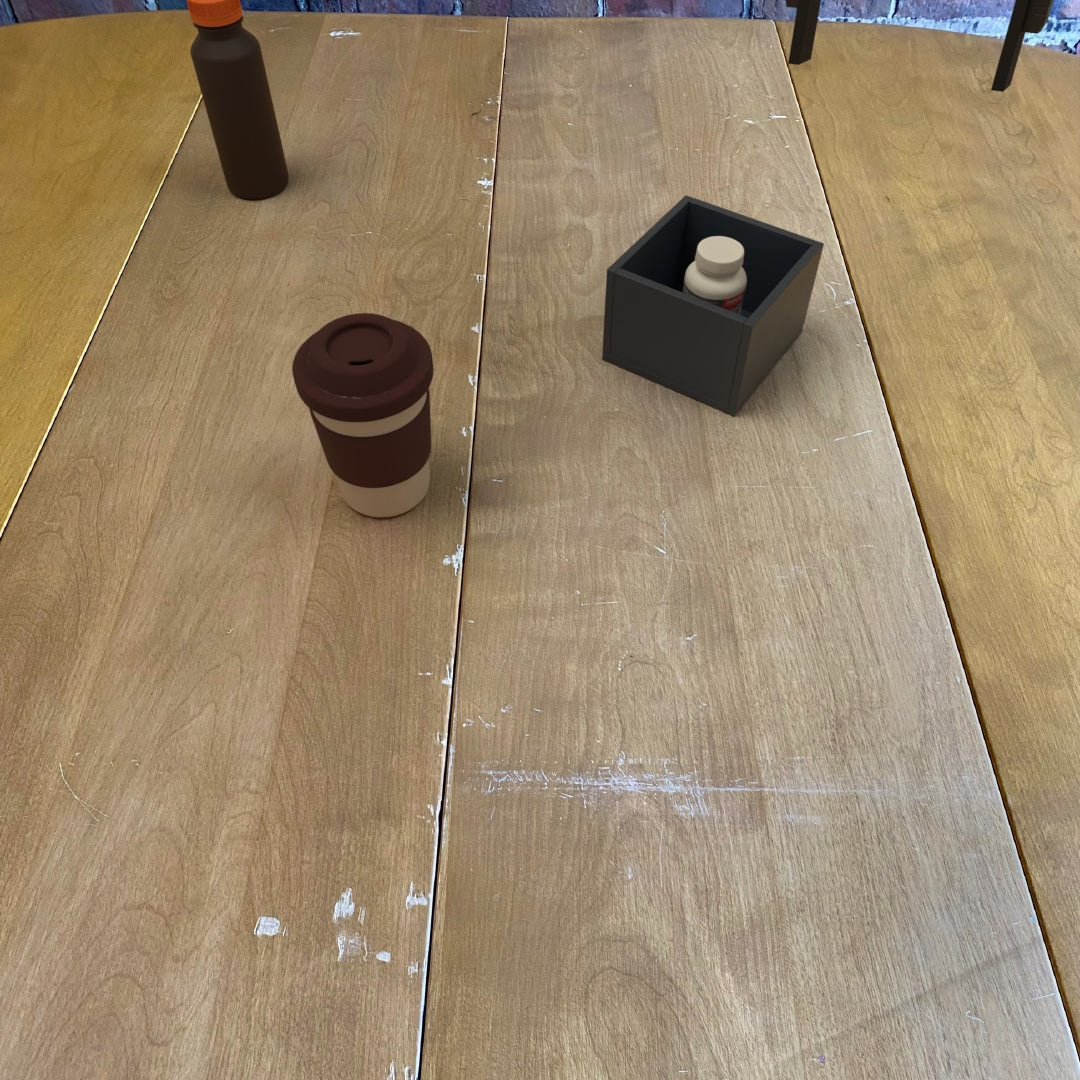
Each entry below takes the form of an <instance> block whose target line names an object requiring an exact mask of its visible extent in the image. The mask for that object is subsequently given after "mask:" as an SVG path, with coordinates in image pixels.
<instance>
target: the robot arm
mask: <svg viewBox="0 0 1080 1080" xmlns="http://www.w3.org/2000/svg"><path fill="white" fill-rule="evenodd" d="M784 1H785V7H786V8H792V9H793V8H794V9H796V13H795V18H794V25H793V31H792V37H791V43H790V49H789V56H788V62H787V64H788V65H794V66H800V65H802V64H804V63H806V62H809V61H811V59H812V55H813V50H814V45H815V44H814V43H815V37H816V31H817V27H818V22H819V21H818V20H819V15H820V9H821V2H822V0H784ZM1053 4H1054V0H1014V5H1013V9H1012V12H1011V15H1010V18H1009V23H1008V27H1007V30H1006V34H1005V38H1004V41H1003V45H1002V48H1001V51H1000V56H999V59H998V63H997V67H996V71H995V74H994V78H993V81H992V84H991V88H990V91H993V92H994V91H995V92H1001V93H1003V92H1005V91H1006V90H1007V89H1008V88H1009V87H1011V85H1012V81H1013V78H1014V74H1015V71H1016V67H1017V63H1018V61H1019V60H1018V59H1019V57H1020V53H1021V49H1022V46H1023V43H1024V40H1025V36H1026V34H1037V35H1038V34H1039V33H1041V32H1042V31H1043V29H1044V28H1045V26H1046V25H1047V24H1048V20H1049V18H1050V13H1051V11H1052V7H1053Z"/></svg>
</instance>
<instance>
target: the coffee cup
mask: <svg viewBox="0 0 1080 1080" xmlns="http://www.w3.org/2000/svg"><path fill="white" fill-rule="evenodd" d="M291 366H292V368H291V372H292V378H293V381H294V386H295V389H296V391H297V394H298V396H299V398H300V400H301V401H302V402H303V403H304V405H305V406H307V408H308V410H309V415H310V417H311V420H312V422H313V425H314V428H315V431H316V434H317V436H318V440H319V443H320V445H321V449H322V451H323V453H324V457H325V460H326V462H327V464H328V467H329V469H330V470H331V472H333V474H334V476H335V480H336V483H337V485H338V488H339V491H340V494H341V496H342V498H343V500H344V501H345V503H346V504H347V505H348V506H349V507H350V508H351V509H352V510H354V511H355V512H357V513H359V514H361V515H363V516H368V517H372V518H392V517H397V516H400V515H403V514H405V513H407V512H409V511H411V510H413V509H414V508H415V507H417V506H418V505H419V504H420V503H421V502H422V501H423V499H424V498H425V497H426V495H427V493H428V491H429V489H430V485H431V484H430V483H431V467H430V456H431V452H432V423H431V419H432V418H431V395H430V387H431V384H432V381H433V377H434V360H433V353H432V348H431V346H430V344H429V342H428V340H427V339H426V338H425V337H424V335H423V334H422V333H421V332H419V331H418V330H417V329H415V328H414V327H413V326H412V325H409V324H407V323H404V322H402V321H400V320H396V319H393V318H390V317H387V316H385V315H383V314H378V313H370V312H361V313H351V314H347V315H346V314H345V315H344V316H341V317H338V318H335V319H332V320H331V321H329V322H327V323H326V324H325V325H323V326H322V327H321V328H320V329H318V330H317V331H316V332H314V333H313V334H311V335H310V336H309V337H308V338H307V339H306V340H305V341H303V343H302V344H301V345H300V346H299V348H298V349H297V351H296V353H295V355H294V358H293V360H292V365H291Z"/></svg>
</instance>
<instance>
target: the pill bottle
mask: <svg viewBox="0 0 1080 1080" xmlns="http://www.w3.org/2000/svg"><path fill="white" fill-rule="evenodd" d="M743 259H744V248H743V246H742V245H741V244H740V243H739V242H738V241H736V240H734V239H732V238H729V237H724V236H713V237H708V238H706V239H703V240H702V241H701V242H700V243H699V244H698V247H697V251H696V256H695V261H694V262H692V263H691V264H690V265H689V267H688V268H687V270H686V273H685V278H684V287H683V293H685V294H687V295H690V296H693V297H695V298H698V299H700V300H703V301H705V302H708V303H710V304H713V305H716V306H718V307H721V308H723V309H726V310H728V311H731V312H733V313H736V314H739V315H741V309H742V304H743V299H744V294H745V289H746V283H747V277H746V273H745V271H744V269H743V268H742V265H743Z"/></svg>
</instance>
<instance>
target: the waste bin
mask: <svg viewBox="0 0 1080 1080" xmlns="http://www.w3.org/2000/svg"><path fill="white" fill-rule="evenodd" d="M713 236H724V237H729V238H732V239H734V240H736V241H738V242H739V243H740V244H741V245H742V246H743V248H744V259H743V265H742V268H743V269H744V271H745V273H746V277H747V283H746V289H745V294H744V299H743V304H742V309H741V315H739V314H736V313H733V312H731V311H728V310H726V309H723V308H721V307H718V306H716V305H713V304H710V303H708V302H705V301H703V300H700V299H698V298H695V297H693V296H690V295H687V294H685V293H683V287H684V278H685V273H686V270H687V268H688V267H689V265H690V264H691V263H692V262H694V261H695V256H696V251H697V247H698V244H699V243H700V242H701V241H702V240H703V239H706V238H708V237H713ZM824 246H825V243H824V242H821V241H819V240H815V239H813V238H810V237H807V236H804V235H801V234H798V233H796V232H793V231H790V230H787V229H784V228H782V227H778V226H776V225H773V224H770V223H767V222H764V221H762V220H759V219H757V218H752V217H749V216H748V215H744V214H741V213H739V212H735V211H733V210H729V209H727V208H723V207H722V206H718V205H716V204H713V203H710V202H707V201H705V200H701V199H698V198H696V197H693V196H689V195H684V196H683V197H682V198H681V199H680V200H679V201H678V202H677V203H675V204H674V206H672V207H671V208H670V209H669V210H668V211H667V212H666V213H665V214H664V215H663V216H662V217H661V218H660V219H658V220H657V221H656V222H655V223H654V224H653V225H652V226H651V227H650V228H649V229H648V230H646V231H645V233H643V235H642V236H640V237H639V238H638V239H637V240H636V241H635V242H634V243H633V244H632V245H631V246H630V247H629V248H627V250H626V251H624V253H623V254H622V255H621V256H619V257H618V258H617V259H616V260H615V261H614V262H613V263H611V264H610V266H608V268H606V280H605V281H606V283H605V296H604V297H605V298H604V315H603V316H604V317H603V320H604V321H603V332H602V335H603V337H602V356H601V359H602V360H603V361H606V362H608V363H610V364H612V365H615V366H617V367H619V368H621V369H623V370H625V371H629V372H630V373H632V374H635V375H637V376H639V377H642V378H644V379H646V380H649V381H651V382H654V383H656V384H658V385H660V386H662V387H665V388H667V389H669V390H672V391H674V392H677V393H679V394H681V395H683V396H686V397H688V398H690V399H692V400H695V401H698V402H699V403H702V404H705V405H706V406H709V407H712V408H713V409H716V410H719V411H720V412H723V413H725V414H727V415H729V416H732V417H736V416H737V414H739V412H740V411H741V410H742V408H743V407H744V406H745V405H746V404H747V402H748V401H749V400H750V398H752V396H753V395H754V394H755V392H756V391H757V390H758V389H759V387H760V386H761V385H762V383H764V381H765V380H766V379H767V377H768V376H769V375H770V374H771V372H772V371H773V370H774V368H775V367H776V366H777V365H778V364H779V363H780V361H781V360H782V358H783V357H784V356H785V355H786V354H787V353H788V351H789V350H790V349H791V347H792V346H793V345H794V344H795V342H796V341H797V340H798V338H800V336H801V335H802V334H803V329H804V326H805V323H806V322H805V321H806V318H807V314H808V311H809V305H810V302H811V298H812V293H813V290H814V286H815V282H816V279H817V273H818V270H819V266H820V262H821V257H822V253H823V249H824Z"/></svg>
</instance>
